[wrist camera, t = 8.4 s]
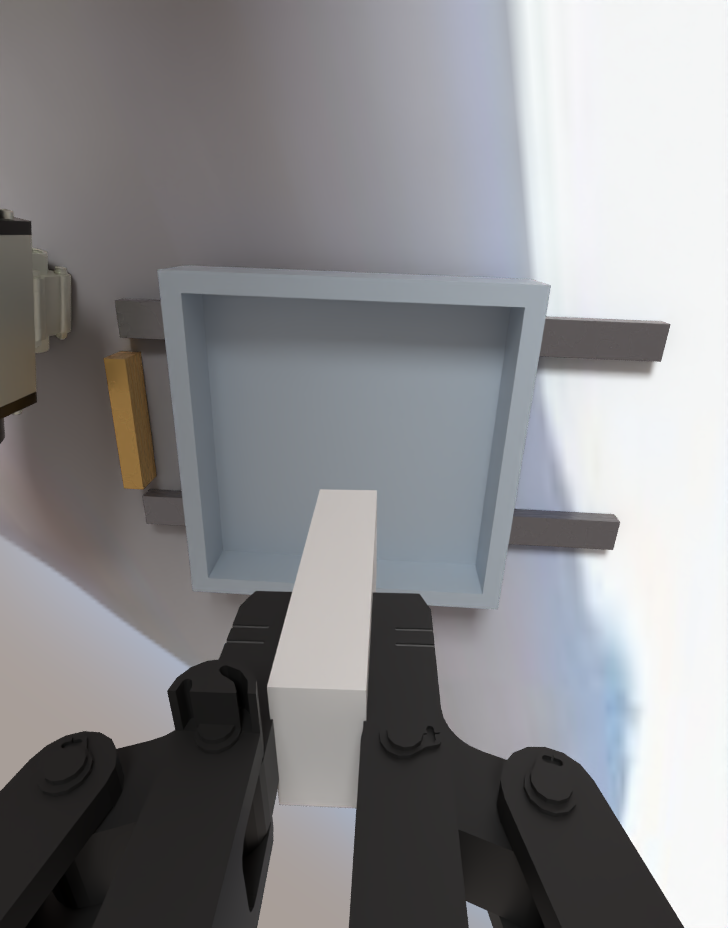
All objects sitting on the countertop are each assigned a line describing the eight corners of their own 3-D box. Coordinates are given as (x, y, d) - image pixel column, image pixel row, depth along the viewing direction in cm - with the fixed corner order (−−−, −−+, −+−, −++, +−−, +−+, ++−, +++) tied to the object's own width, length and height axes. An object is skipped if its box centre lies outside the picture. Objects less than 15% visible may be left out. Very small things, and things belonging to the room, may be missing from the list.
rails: (112, 298, 30) (94, 302, 29) (661, 321, 29) (679, 327, 28) (144, 515, 36) (130, 530, 34) (607, 541, 35) (619, 558, 33)
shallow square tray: (186, 265, 28) (157, 269, 25) (530, 278, 28) (550, 285, 24) (212, 555, 35) (192, 591, 32) (487, 571, 35) (497, 609, 31)
